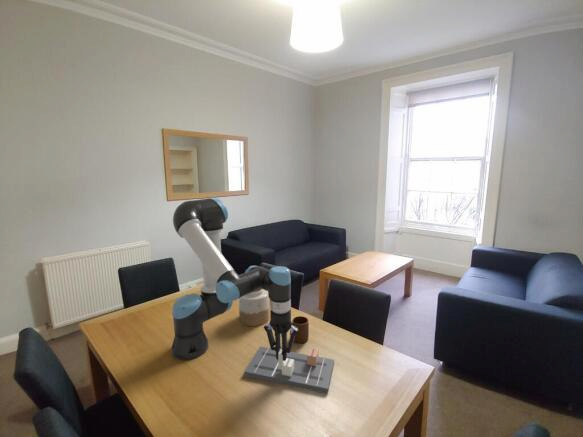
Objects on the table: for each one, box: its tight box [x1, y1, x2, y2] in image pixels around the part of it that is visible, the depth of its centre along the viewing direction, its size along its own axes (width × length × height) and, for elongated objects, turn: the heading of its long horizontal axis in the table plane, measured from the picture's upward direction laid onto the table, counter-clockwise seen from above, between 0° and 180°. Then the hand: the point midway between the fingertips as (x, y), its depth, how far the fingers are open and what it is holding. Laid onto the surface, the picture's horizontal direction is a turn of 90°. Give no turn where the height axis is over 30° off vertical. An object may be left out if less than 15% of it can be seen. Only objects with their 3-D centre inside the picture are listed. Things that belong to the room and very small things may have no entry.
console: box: [243, 346, 335, 394], centre depth 115 cm, size 32×16×2 cm, turn 74°
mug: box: [289, 315, 310, 344], centre depth 132 cm, size 12×8×9 cm, turn 148°
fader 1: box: [282, 358, 294, 377], centre depth 110 cm, size 4×4×4 cm
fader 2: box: [306, 348, 319, 366], centre depth 116 cm, size 4×4×4 cm
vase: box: [238, 289, 270, 327], centre depth 151 cm, size 15×15×17 cm
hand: (281, 366), depth 111 cm, fingers closed
